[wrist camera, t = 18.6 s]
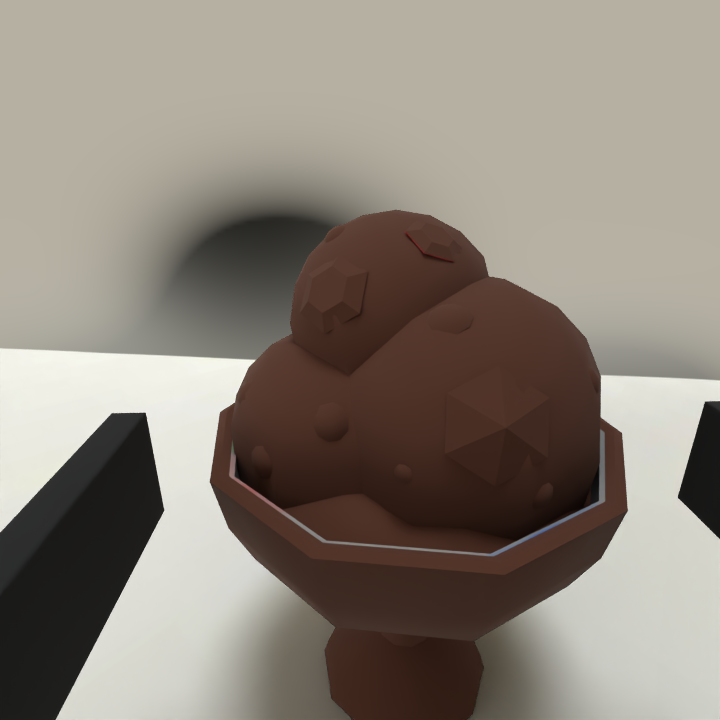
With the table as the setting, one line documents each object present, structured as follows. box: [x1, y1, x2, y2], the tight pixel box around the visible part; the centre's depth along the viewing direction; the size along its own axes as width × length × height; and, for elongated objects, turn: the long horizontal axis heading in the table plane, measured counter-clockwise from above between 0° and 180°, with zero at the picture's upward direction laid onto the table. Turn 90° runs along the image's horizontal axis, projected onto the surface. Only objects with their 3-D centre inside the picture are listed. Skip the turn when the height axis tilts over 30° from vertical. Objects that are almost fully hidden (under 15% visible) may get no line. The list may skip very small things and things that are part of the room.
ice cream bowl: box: [210, 210, 628, 720], centre depth 14 cm, size 11×11×15 cm
